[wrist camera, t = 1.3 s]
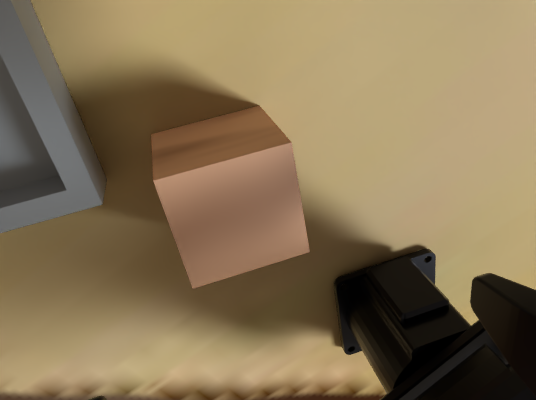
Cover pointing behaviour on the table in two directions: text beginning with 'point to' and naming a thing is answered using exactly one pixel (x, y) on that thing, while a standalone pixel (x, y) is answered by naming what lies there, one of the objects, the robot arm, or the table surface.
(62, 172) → the tray
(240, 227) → the block
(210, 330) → the table surface
